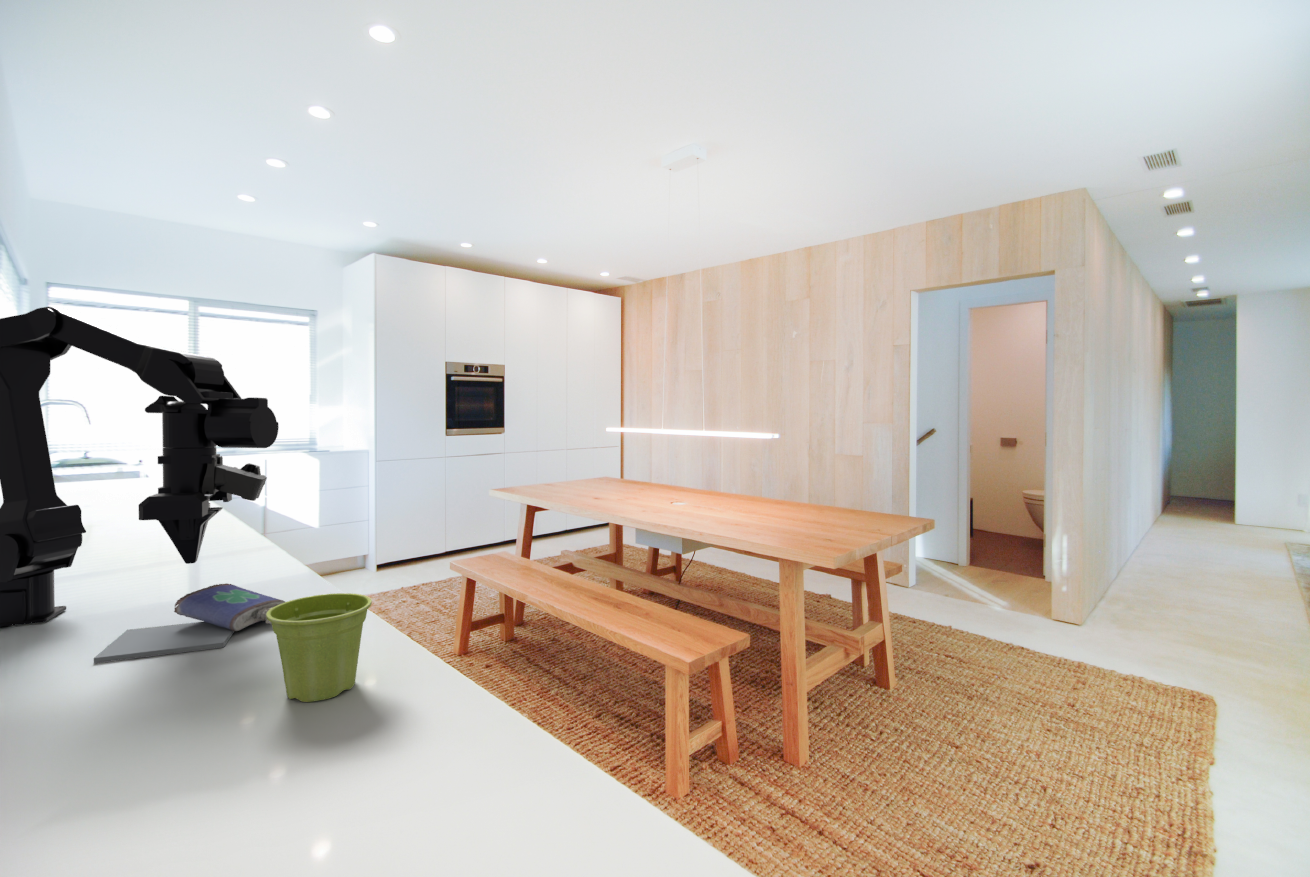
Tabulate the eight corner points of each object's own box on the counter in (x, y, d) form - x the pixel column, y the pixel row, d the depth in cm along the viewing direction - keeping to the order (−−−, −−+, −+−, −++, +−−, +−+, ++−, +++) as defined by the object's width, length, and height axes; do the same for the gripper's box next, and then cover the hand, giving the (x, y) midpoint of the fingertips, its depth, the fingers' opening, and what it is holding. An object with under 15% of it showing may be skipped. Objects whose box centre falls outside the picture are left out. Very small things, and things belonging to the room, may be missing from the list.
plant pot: (260, 720, 55) (260, 626, 54) (271, 680, 63) (271, 599, 63) (373, 699, 59) (373, 612, 59) (369, 665, 67) (369, 588, 67)
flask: (171, 616, 76) (243, 638, 75) (175, 594, 76) (248, 615, 75) (231, 599, 85) (297, 618, 84) (235, 579, 85) (302, 597, 84)
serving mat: (127, 634, 76) (127, 629, 76) (240, 622, 81) (240, 617, 81) (93, 663, 67) (93, 658, 67) (223, 647, 72) (223, 642, 72)
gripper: (249, 450, 75) (249, 573, 76) (271, 444, 92) (271, 545, 92) (136, 451, 70) (137, 582, 71) (181, 445, 87) (182, 551, 88)
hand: (191, 562), depth 80 cm, fingers closed
